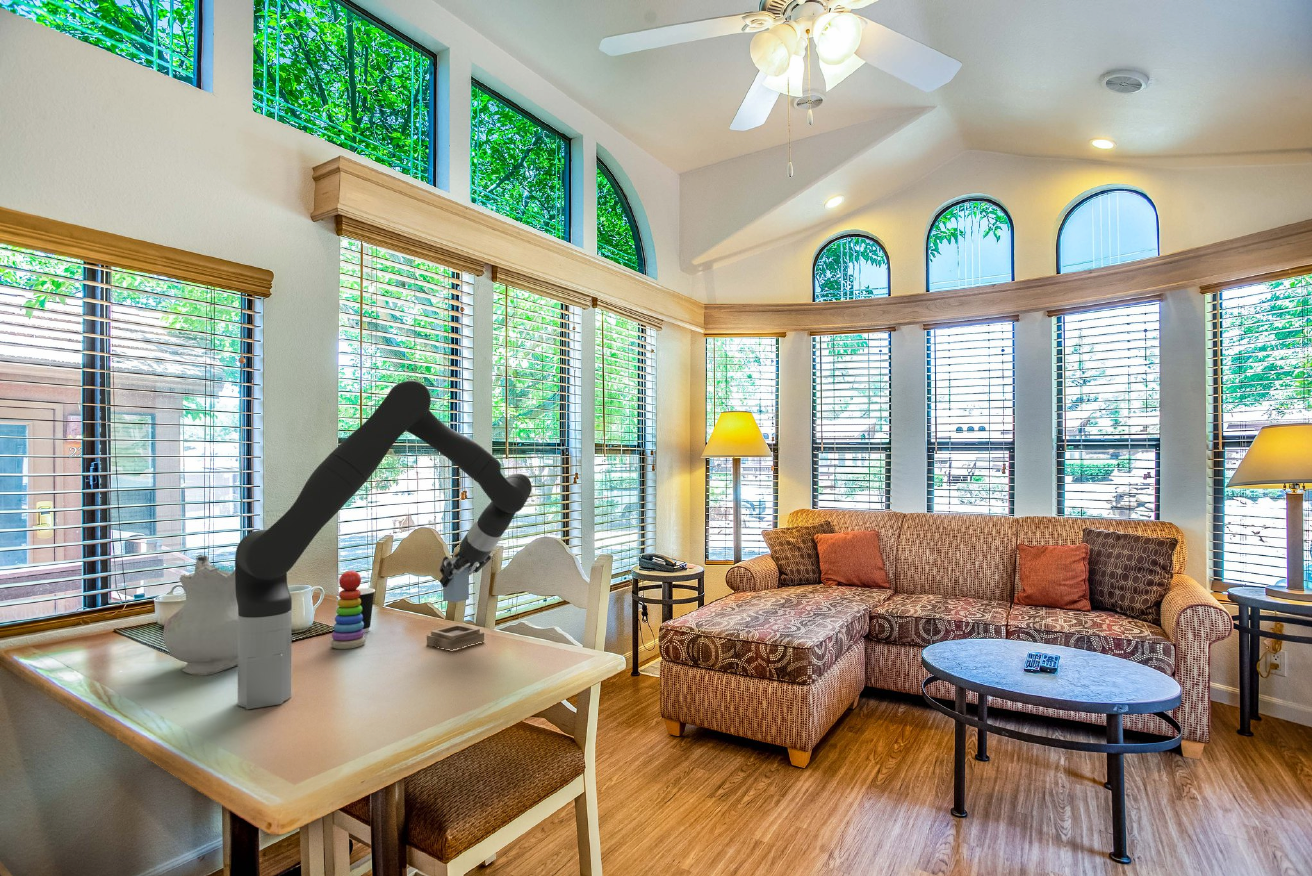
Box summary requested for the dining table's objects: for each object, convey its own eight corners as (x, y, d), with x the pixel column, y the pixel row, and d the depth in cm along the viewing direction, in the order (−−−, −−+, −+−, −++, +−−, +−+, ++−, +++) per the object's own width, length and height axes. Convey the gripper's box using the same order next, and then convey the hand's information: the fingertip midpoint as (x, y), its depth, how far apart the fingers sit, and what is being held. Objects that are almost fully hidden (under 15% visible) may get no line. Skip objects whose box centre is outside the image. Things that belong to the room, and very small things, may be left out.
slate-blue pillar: (468, 599, 177) (468, 560, 177) (454, 602, 173) (454, 562, 173) (457, 597, 179) (457, 558, 179) (443, 600, 176) (442, 560, 176)
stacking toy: (356, 650, 171) (357, 574, 171) (324, 650, 171) (325, 574, 171) (370, 641, 179) (370, 568, 179) (340, 641, 179) (340, 568, 179)
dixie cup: (377, 626, 194) (377, 587, 194) (372, 633, 186) (373, 592, 186) (346, 628, 192) (346, 588, 192) (341, 636, 184) (341, 594, 184)
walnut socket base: (484, 642, 177) (484, 628, 177) (451, 651, 169) (451, 637, 169) (459, 636, 183) (459, 623, 183) (426, 645, 175) (426, 631, 175)
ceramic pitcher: (142, 674, 156) (133, 565, 155) (229, 646, 173) (222, 547, 172) (197, 690, 146) (188, 573, 145) (284, 658, 163) (277, 553, 162)
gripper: (496, 524, 178) (466, 567, 185) (450, 530, 166) (420, 575, 173) (511, 547, 175) (479, 589, 182) (465, 554, 163) (433, 599, 170)
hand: (451, 582), depth 177 cm, fingers closed on slate-blue pillar, 4 cm apart
